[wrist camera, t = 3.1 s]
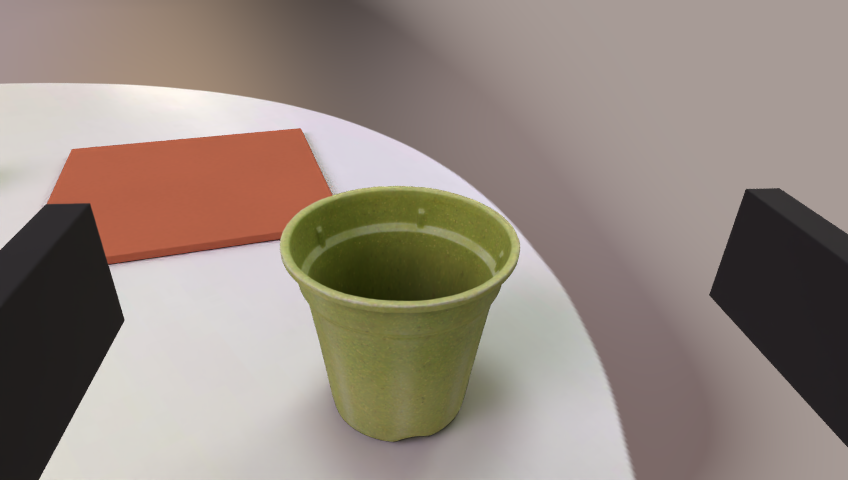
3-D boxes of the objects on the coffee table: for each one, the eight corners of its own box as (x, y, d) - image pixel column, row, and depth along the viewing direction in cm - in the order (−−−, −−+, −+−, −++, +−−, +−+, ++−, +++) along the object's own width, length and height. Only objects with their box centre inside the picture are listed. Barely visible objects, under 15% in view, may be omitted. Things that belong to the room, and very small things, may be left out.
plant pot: (372, 309, 33) (368, 168, 28) (528, 368, 29) (552, 216, 24) (255, 418, 26) (226, 254, 21) (441, 516, 22) (453, 340, 17)
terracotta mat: (301, 133, 57) (300, 128, 56) (346, 229, 41) (345, 222, 40) (73, 155, 51) (71, 148, 50) (19, 277, 35) (16, 269, 34)
